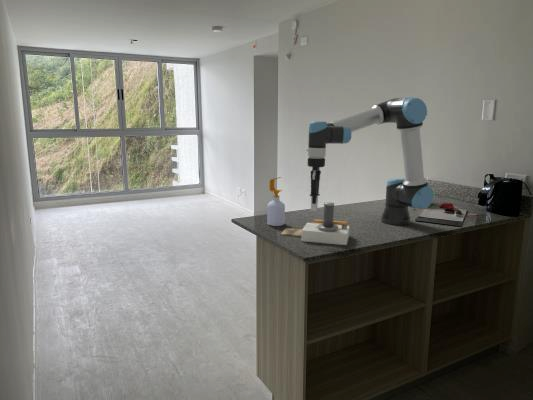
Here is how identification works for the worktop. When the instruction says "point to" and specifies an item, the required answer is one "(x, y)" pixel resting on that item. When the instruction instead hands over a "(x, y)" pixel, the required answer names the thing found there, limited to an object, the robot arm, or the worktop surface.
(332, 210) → the plug
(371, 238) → the worktop surface
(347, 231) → the socket block
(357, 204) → the worktop surface
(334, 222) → the clip
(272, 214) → the soap bottle
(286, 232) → the cork mat
